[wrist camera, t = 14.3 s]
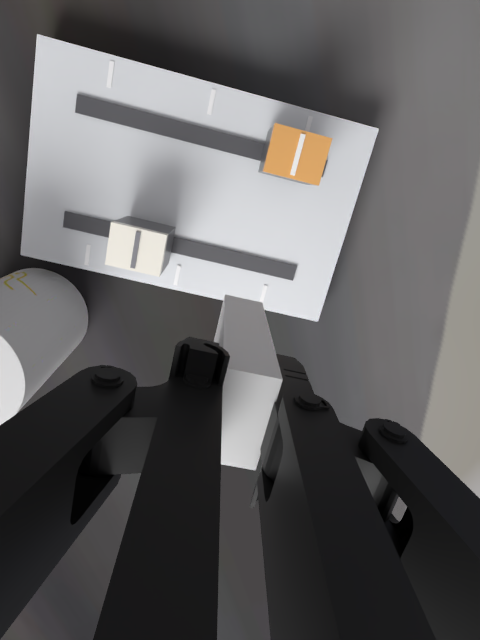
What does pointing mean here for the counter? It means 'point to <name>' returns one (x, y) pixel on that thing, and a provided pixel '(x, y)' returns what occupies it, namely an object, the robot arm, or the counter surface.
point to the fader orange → (294, 154)
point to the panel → (183, 179)
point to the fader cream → (139, 245)
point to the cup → (35, 332)
